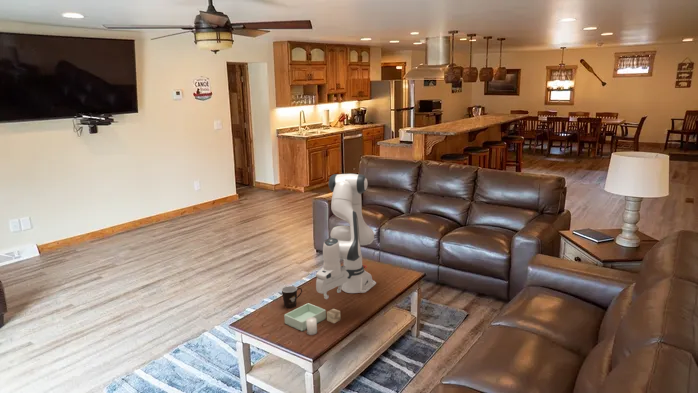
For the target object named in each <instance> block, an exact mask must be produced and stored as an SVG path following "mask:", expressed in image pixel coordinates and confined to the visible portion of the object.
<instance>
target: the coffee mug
mask: <svg viewBox="0 0 698 393" xmlns="http://www.w3.org/2000/svg"><path fill="white" fill-rule="evenodd" d="M299 290H300V292H299V294H298V291H299ZM281 293H282V294H281V295H282V299H283V305H284V308H285V307H286V309H293V308H296V307H297V299H298V298H299V297H301V295H302V293H303V289H302V288H300V287H296V286H294V285H288V286H284V287H282V288H281Z"/></svg>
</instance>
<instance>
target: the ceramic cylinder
mask: <svg viewBox="0 0 698 393" xmlns="http://www.w3.org/2000/svg"><path fill="white" fill-rule="evenodd" d="M306 323H307V329H306V334H307V335H309V336H314V335H317V333H318V326H317V325H318V323H317V321H316V318H314V317H310V318H307V319H306Z"/></svg>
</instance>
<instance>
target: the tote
mask: <svg viewBox="0 0 698 393" xmlns="http://www.w3.org/2000/svg"><path fill="white" fill-rule="evenodd" d="M310 317H314V318H316V321H317V324H319V323H321V322H323V321H324V320H327V310H326V309H324V308H322V307H321V306H317V305H314V304H312V303H309V302H307V303H306V304H305V303H304V304H303V305H301V306H299V307H297V308H295V309H293V310H291V311H289V312H287V313H284V316H283V318H284V324H285V325H287V326H289V327H291V328H293V329H296V330H298V331H300V332H304V331H307V323H306V319H307V318H310Z"/></svg>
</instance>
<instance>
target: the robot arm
mask: <svg viewBox="0 0 698 393" xmlns="http://www.w3.org/2000/svg"><path fill="white" fill-rule="evenodd" d="M328 189H329V191H331V192H332V196H331V202H330V204H331V205H330V208H331V209H330V210H331V212H332V214H333V215H334V216H335V217H337V218H339V219H341V220H343V221H345V222H347V223H348V224H349V225H338V226H334V227H333V228H332V229H331V231H330V237H329V238H326V239H325V240H324V241H323V246H322V259H323V264H322V265H323V266H322V267H321V268H320V269H319V270H318V271H317V272H316V274H315V277H317V278H316V281H315V289H316V292H317V293H319V294H323V299H324V300H328V299H329V297H330V296H329V294H327V293H328V292H329V291H330V290H333V289H335V288H337V289H336V293H338V294H339V293H342V291H343V292H345V293H348V294H358V293H360V294H361V293H362V294H363V293H368V292H369V291H370V289H372V288H373V287H374V286H376V284H377V282H376V281H375V280H373V277H372V274H371V273H369V272H368V271H366V270H365V269H367V268H368V265H367V264H363V255H362V249H361V246H368V245H371V244H372V243H373V242H374V240H375V232H374V230H373V229H372V228H371V227H370V226H369V225H368V224H367V223H366V222H365V220H364V217H363V211H362V210H363V209H362V208H363V206H362V194H364V193H365V192H366V191H367V189H368V178H367V176H365V175H364V174H361V173H359V174H357V173H341V174H339V173H334V174H332V175H330V177H329V180H328ZM341 260H343V265H341Z"/></svg>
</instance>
